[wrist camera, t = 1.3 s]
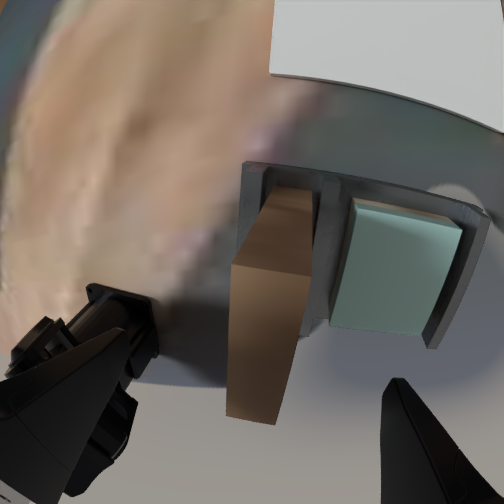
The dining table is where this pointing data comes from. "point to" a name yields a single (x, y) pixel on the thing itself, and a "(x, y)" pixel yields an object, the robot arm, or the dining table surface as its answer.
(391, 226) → the offcut upper
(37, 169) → the dining table surface
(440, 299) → the rack
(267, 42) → the dining table surface
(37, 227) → the dining table surface
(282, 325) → the brown flat block
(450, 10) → the board
